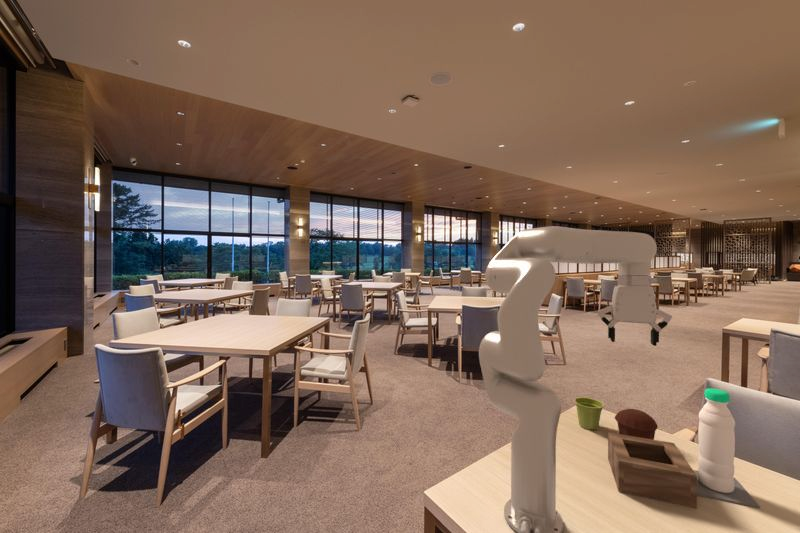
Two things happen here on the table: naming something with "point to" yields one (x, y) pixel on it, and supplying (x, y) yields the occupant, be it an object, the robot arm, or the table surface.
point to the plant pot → (588, 412)
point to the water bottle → (716, 442)
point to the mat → (727, 494)
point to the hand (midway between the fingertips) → (632, 342)
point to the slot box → (652, 470)
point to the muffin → (636, 423)
